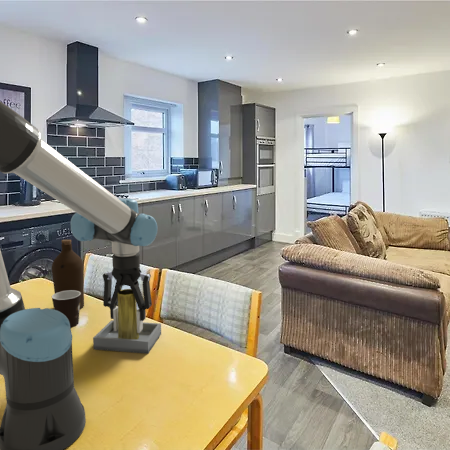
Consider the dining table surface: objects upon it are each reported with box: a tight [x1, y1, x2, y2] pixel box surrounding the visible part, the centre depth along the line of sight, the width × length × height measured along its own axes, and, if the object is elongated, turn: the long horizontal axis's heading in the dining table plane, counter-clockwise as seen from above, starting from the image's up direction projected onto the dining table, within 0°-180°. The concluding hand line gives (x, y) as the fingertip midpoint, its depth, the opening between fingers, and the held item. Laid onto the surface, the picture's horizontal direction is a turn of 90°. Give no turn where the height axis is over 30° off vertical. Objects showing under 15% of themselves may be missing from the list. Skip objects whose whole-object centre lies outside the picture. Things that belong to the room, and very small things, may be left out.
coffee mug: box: [51, 290, 81, 328], centre depth 121 cm, size 12×9×10 cm
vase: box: [117, 288, 139, 340], centre depth 108 cm, size 6×6×14 cm
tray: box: [92, 319, 162, 355], centre depth 109 cm, size 12×16×4 cm
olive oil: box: [51, 238, 85, 310], centre depth 133 cm, size 11×11×25 cm
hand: (128, 329), depth 109 cm, fingers open, 6 cm apart
